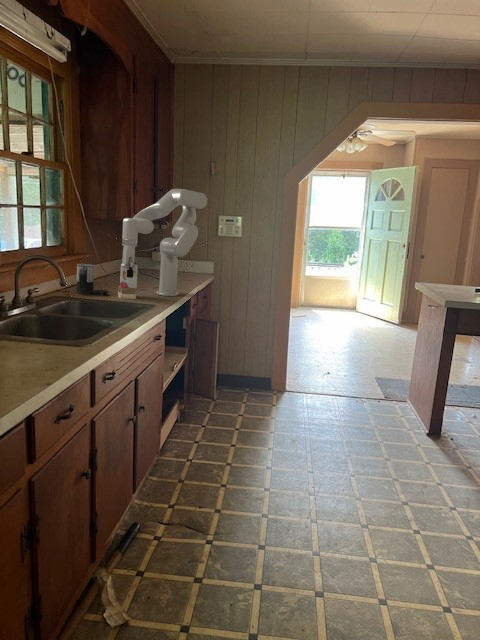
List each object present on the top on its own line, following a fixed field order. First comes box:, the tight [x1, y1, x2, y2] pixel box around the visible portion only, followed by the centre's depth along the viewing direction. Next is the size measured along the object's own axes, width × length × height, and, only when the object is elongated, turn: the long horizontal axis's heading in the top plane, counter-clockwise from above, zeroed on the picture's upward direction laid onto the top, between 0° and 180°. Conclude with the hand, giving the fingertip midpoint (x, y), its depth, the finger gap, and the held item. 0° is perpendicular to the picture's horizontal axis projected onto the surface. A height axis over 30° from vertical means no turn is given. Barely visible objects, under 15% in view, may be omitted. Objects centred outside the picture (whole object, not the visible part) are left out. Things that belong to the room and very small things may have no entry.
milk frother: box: [75, 263, 109, 295], centre depth 253 cm, size 14×16×15 cm
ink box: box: [119, 263, 139, 289], centre depth 251 cm, size 9×5×12 cm, turn 104°
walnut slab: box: [117, 285, 136, 294], centre depth 252 cm, size 7×7×3 cm
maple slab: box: [117, 291, 137, 300], centre depth 253 cm, size 8×8×3 cm
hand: (128, 275), depth 250 cm, fingers open, 9 cm apart
